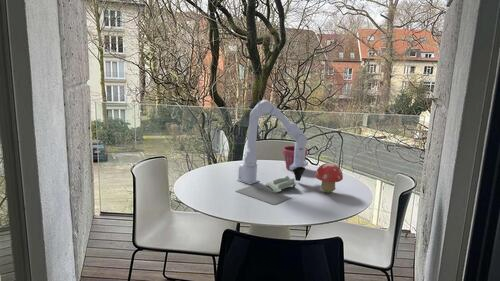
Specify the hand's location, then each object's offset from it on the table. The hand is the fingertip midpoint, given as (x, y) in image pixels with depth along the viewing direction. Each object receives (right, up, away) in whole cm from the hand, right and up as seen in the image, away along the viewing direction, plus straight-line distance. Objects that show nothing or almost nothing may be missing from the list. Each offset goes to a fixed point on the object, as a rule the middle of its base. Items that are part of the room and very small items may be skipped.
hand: (297, 180), depth 200 cm
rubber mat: (-19, -5, -20) cm, 28 cm away
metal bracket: (-9, -3, -10) cm, 14 cm away
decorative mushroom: (+13, -5, -13) cm, 19 cm away
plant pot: (+1, +4, +26) cm, 27 cm away
